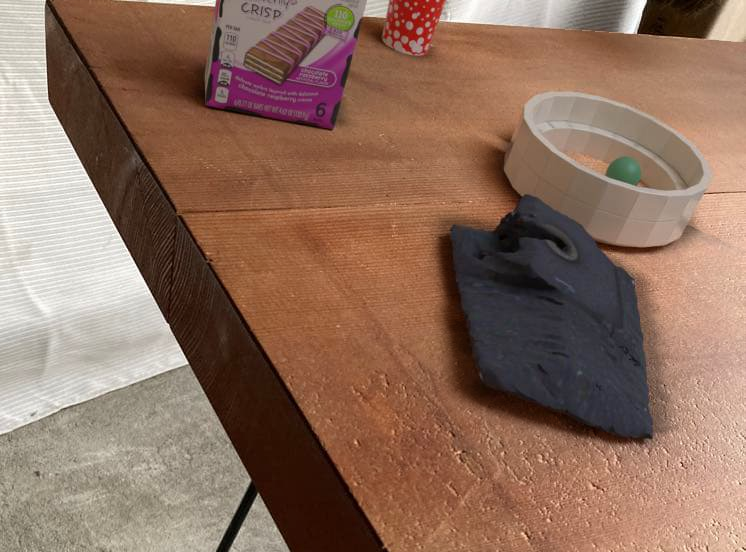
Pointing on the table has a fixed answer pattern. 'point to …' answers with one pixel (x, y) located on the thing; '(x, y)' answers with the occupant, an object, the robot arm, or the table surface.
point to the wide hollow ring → (608, 142)
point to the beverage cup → (411, 25)
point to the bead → (624, 170)
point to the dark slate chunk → (554, 318)
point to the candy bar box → (282, 57)
